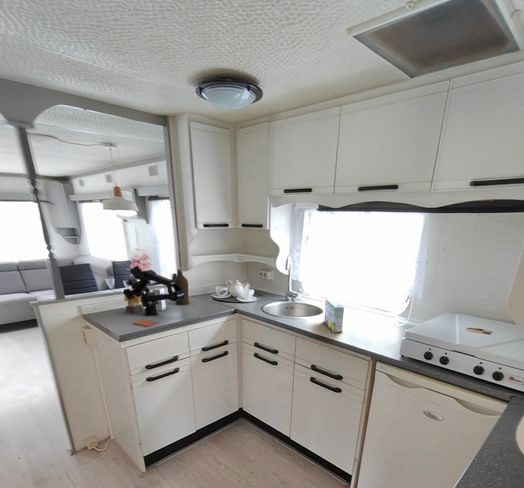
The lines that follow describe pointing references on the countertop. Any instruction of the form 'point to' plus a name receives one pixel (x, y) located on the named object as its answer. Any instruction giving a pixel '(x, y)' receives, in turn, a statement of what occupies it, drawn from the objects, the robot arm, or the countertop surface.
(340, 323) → the snack box
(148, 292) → the robot arm
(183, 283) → the olive oil
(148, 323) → the mat
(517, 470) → the countertop surface
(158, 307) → the syrup box
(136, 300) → the bar
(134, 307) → the tower
